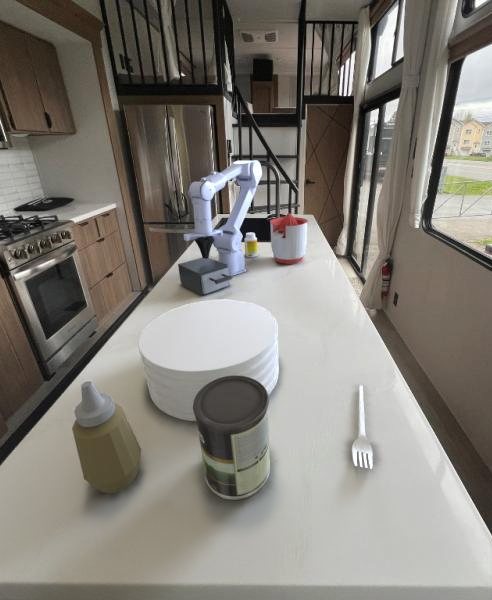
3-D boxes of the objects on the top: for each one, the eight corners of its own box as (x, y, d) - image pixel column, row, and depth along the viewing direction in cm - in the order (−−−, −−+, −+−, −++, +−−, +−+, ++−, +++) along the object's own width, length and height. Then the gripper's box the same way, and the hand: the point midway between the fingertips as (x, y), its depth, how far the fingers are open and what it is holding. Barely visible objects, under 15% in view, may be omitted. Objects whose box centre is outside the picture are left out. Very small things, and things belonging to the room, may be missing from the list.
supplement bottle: (260, 255, 146) (259, 233, 142) (250, 258, 143) (248, 235, 139) (252, 253, 150) (251, 231, 146) (243, 255, 147) (241, 233, 143)
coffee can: (201, 504, 46) (187, 432, 39) (208, 443, 55) (197, 377, 49) (274, 497, 46) (271, 425, 40) (268, 438, 55) (266, 372, 49)
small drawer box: (229, 286, 116) (227, 264, 112) (201, 296, 109) (198, 273, 105) (208, 276, 125) (205, 256, 121) (181, 285, 118) (177, 264, 114)
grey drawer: (238, 288, 111) (236, 271, 108) (212, 298, 105) (210, 280, 102) (209, 276, 122) (208, 260, 120) (185, 284, 116) (183, 267, 113)
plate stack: (184, 334, 87) (178, 295, 82) (287, 344, 81) (287, 303, 76) (120, 410, 62) (106, 361, 57) (262, 432, 57) (259, 380, 52)
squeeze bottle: (156, 461, 52) (133, 371, 44) (120, 509, 45) (84, 413, 37) (116, 447, 54) (87, 360, 47) (76, 492, 48) (34, 398, 40)
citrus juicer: (261, 263, 137) (259, 215, 128) (283, 252, 150) (283, 208, 141) (292, 270, 129) (293, 219, 120) (313, 258, 142) (315, 211, 133)
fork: (369, 388, 66) (369, 381, 65) (373, 478, 48) (375, 469, 48) (352, 386, 67) (353, 379, 66) (351, 474, 49) (352, 465, 48)
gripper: (190, 222, 103) (193, 264, 108) (227, 218, 112) (228, 256, 117) (179, 220, 107) (182, 259, 113) (215, 216, 117) (217, 252, 122)
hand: (205, 258), depth 115 cm, fingers closed
